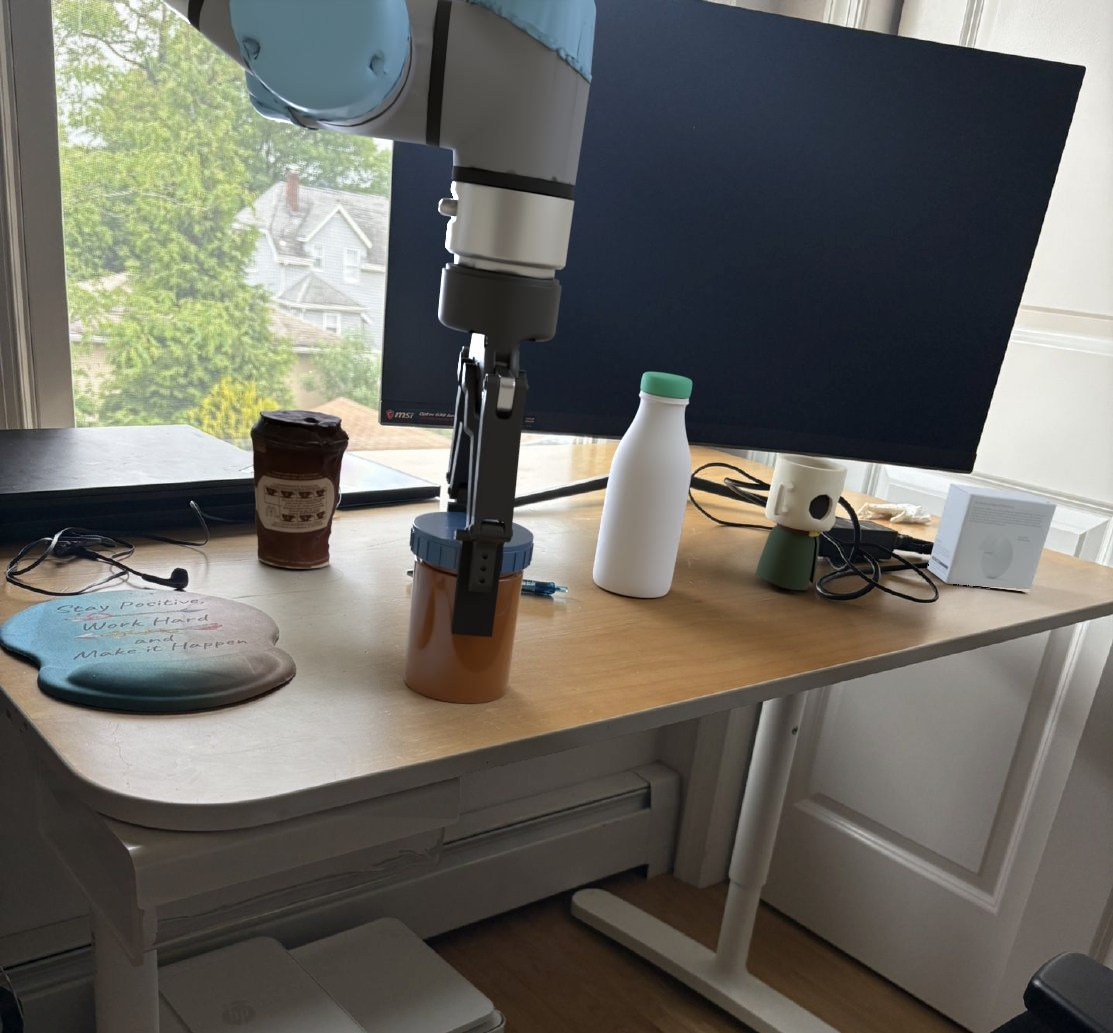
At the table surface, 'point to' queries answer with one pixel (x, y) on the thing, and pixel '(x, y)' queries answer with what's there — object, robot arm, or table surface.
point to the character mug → (799, 518)
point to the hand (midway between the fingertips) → (464, 611)
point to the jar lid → (440, 548)
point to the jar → (457, 640)
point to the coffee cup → (296, 485)
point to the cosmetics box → (990, 537)
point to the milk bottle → (647, 493)
